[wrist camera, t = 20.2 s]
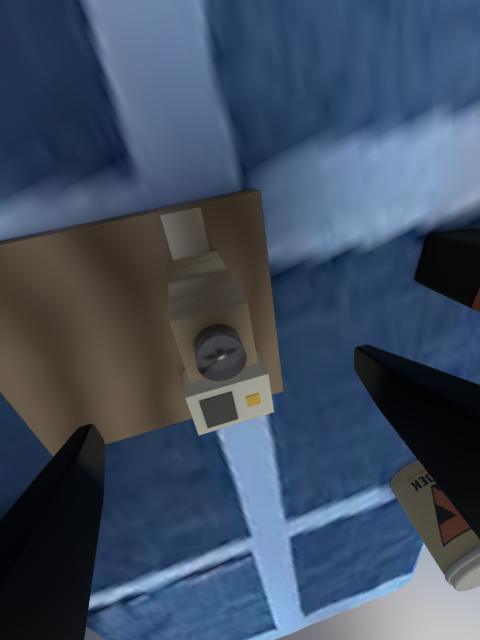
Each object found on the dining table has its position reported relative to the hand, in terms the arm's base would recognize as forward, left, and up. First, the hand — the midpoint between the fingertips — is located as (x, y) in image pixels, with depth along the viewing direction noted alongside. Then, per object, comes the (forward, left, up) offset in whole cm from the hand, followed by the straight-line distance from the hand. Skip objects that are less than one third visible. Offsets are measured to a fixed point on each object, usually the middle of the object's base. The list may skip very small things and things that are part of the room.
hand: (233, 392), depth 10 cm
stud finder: (0, -9, -11) cm, 14 cm away
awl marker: (0, 0, -11) cm, 11 cm away
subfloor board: (-5, -4, -13) cm, 14 cm away
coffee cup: (+24, -39, -13) cm, 48 cm away
